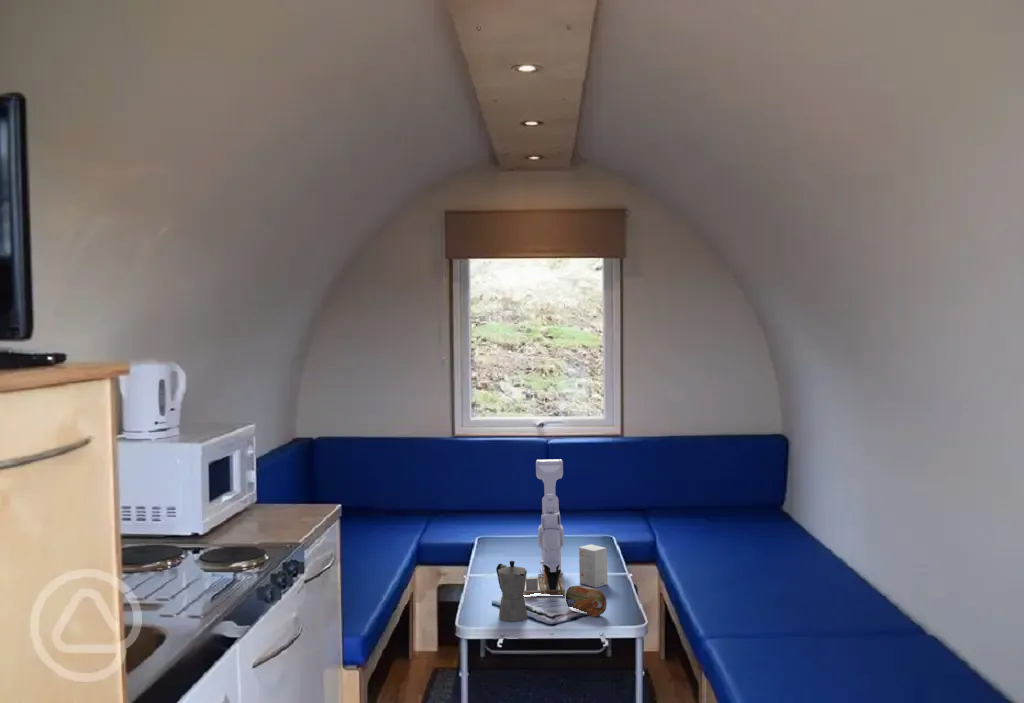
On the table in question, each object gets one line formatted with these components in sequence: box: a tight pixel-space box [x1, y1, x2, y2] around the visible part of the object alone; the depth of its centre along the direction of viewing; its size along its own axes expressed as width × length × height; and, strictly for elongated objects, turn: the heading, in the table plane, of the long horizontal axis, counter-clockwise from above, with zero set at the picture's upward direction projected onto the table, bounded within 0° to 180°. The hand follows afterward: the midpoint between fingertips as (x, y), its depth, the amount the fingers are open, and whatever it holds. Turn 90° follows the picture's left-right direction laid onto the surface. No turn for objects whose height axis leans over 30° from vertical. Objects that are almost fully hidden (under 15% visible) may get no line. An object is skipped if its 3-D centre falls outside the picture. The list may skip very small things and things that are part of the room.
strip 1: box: [524, 576, 540, 593], centre depth 307 cm, size 15×5×5 cm, turn 1°
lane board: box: [523, 573, 566, 597], centre depth 307 cm, size 20×15×2 cm
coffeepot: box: [495, 560, 528, 623], centre depth 278 cm, size 15×9×18 cm, turn 33°
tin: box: [564, 585, 608, 618], centre depth 280 cm, size 15×3×8 cm, turn 47°
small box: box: [578, 543, 608, 589], centre depth 311 cm, size 8×6×13 cm
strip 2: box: [542, 577, 560, 592], centre depth 307 cm, size 15×5×5 cm, turn 1°
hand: (552, 587), depth 301 cm, fingers open, 5 cm apart
